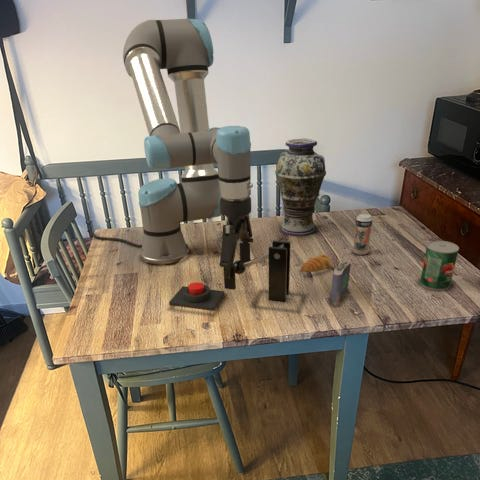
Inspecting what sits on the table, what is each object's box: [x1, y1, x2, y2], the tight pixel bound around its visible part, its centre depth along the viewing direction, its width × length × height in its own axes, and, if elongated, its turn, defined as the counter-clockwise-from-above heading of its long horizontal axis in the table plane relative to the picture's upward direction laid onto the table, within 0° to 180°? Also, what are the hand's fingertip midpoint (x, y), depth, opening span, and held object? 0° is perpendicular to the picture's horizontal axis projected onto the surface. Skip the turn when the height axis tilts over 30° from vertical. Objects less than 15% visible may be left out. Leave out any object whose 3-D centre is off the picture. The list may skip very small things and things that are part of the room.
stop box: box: [168, 284, 226, 312], centre depth 121 cm, size 12×9×4 cm
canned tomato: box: [419, 240, 460, 291], centre depth 124 cm, size 8×8×11 cm
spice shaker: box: [352, 213, 373, 256], centre depth 143 cm, size 5×5×12 cm
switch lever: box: [233, 244, 285, 275], centre depth 117 cm, size 15×4×4 cm, turn 74°
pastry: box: [300, 254, 333, 273], centre depth 136 cm, size 9×7×4 cm
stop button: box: [187, 281, 205, 295], centre depth 119 cm, size 4×4×2 cm
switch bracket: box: [268, 240, 292, 303], centre depth 118 cm, size 12×9×16 cm
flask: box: [330, 259, 352, 303], centre depth 119 cm, size 9×3×11 cm, turn 151°
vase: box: [274, 138, 327, 237], centre depth 157 cm, size 17×17×30 cm
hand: (238, 276), depth 122 cm, fingers open, 13 cm apart
